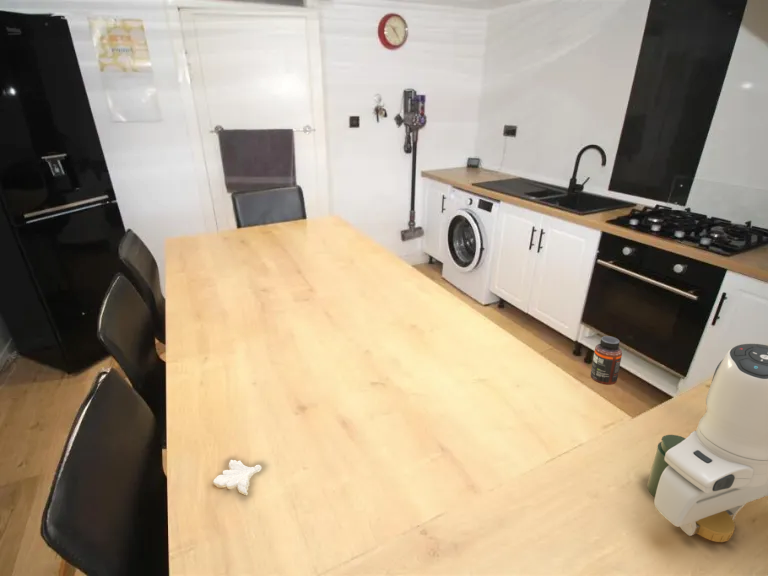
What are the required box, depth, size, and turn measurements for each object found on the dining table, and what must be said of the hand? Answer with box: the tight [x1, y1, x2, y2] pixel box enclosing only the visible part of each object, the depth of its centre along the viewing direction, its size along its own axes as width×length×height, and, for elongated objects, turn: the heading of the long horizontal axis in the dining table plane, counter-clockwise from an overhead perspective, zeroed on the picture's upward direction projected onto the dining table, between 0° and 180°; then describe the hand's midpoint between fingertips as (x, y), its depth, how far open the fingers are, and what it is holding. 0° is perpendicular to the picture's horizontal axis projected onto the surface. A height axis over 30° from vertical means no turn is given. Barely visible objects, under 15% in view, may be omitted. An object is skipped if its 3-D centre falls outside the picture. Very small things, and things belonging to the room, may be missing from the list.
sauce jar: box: [646, 434, 687, 498], centre depth 68 cm, size 6×6×11 cm
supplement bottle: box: [590, 335, 623, 386], centre depth 101 cm, size 6×6×11 cm
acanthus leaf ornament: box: [212, 459, 263, 496], centre depth 75 cm, size 8×7×2 cm
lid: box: [696, 511, 736, 543], centre depth 63 cm, size 6×6×2 cm
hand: (706, 524), depth 63 cm, fingers closed on lid, 6 cm apart
